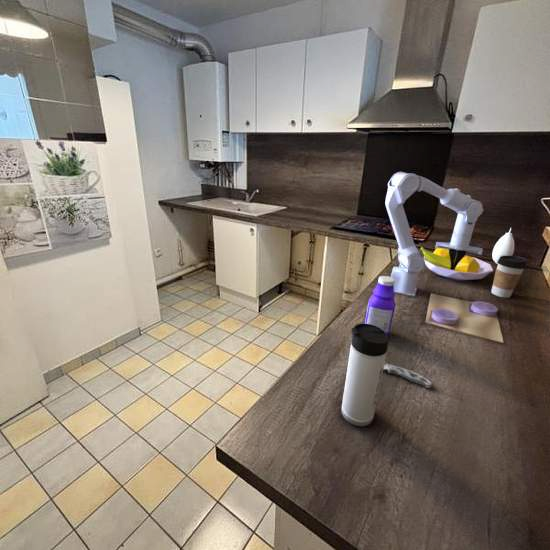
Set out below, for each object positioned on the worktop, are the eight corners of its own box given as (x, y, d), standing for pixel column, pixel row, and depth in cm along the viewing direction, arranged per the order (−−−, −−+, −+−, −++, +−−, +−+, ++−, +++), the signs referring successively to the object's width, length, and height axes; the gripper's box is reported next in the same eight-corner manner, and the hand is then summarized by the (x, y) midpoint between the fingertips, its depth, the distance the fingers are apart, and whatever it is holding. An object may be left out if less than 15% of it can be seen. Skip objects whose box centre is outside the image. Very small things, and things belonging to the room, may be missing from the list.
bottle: (389, 329, 87) (400, 276, 80) (389, 340, 82) (401, 284, 75) (364, 324, 89) (372, 272, 82) (363, 335, 84) (372, 280, 77)
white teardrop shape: (509, 263, 142) (522, 227, 135) (507, 268, 137) (521, 230, 130) (490, 260, 147) (501, 224, 140) (487, 263, 142) (499, 227, 135)
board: (424, 323, 91) (425, 322, 90) (430, 294, 110) (430, 293, 110) (503, 344, 81) (503, 342, 81) (494, 308, 101) (494, 307, 100)
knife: (353, 363, 73) (357, 356, 75) (431, 390, 65) (431, 382, 67) (354, 358, 72) (357, 351, 75) (432, 385, 64) (433, 376, 67)
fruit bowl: (483, 269, 135) (491, 246, 130) (492, 292, 112) (501, 265, 108) (417, 259, 146) (422, 237, 142) (413, 277, 124) (419, 252, 120)
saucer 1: (430, 320, 91) (432, 315, 90) (431, 310, 97) (433, 306, 96) (457, 327, 88) (458, 321, 87) (456, 316, 94) (458, 311, 93)
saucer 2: (471, 312, 97) (472, 307, 96) (470, 303, 102) (472, 299, 102) (497, 318, 93) (499, 313, 93) (495, 309, 99) (496, 304, 98)
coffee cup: (518, 301, 106) (534, 262, 100) (493, 298, 107) (506, 260, 102) (506, 291, 114) (520, 255, 108) (483, 289, 115) (495, 253, 109)
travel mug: (335, 402, 61) (347, 320, 54) (366, 400, 62) (381, 320, 54) (344, 428, 56) (358, 341, 48) (378, 426, 56) (397, 339, 48)
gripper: (438, 233, 103) (430, 268, 109) (487, 239, 97) (475, 276, 102) (439, 229, 109) (431, 262, 114) (485, 234, 102) (474, 270, 108)
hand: (452, 269), depth 109 cm, fingers closed
